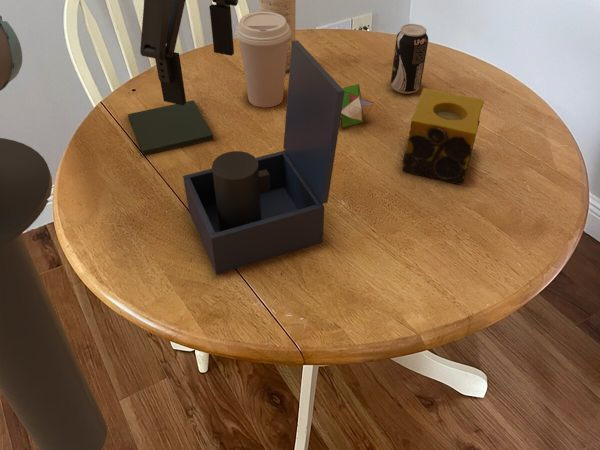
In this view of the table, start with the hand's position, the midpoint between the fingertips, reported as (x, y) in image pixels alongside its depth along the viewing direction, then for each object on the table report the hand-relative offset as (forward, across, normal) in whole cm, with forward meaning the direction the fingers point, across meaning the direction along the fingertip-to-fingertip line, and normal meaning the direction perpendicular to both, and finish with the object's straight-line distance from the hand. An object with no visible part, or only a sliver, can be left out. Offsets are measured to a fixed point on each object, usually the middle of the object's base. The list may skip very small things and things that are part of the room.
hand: (201, 76), depth 76 cm
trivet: (+20, +12, +15) cm, 28 cm away
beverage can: (+20, +41, -20) cm, 50 cm away
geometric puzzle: (+20, +26, -14) cm, 36 cm away
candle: (+20, +20, -30) cm, 42 cm away
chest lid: (+4, +1, -15) cm, 15 cm away
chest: (+20, -5, -9) cm, 22 cm away
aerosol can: (+20, +41, +6) cm, 46 cm away
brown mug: (+19, -6, -7) cm, 21 cm away
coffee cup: (+20, +28, +4) cm, 34 cm away
